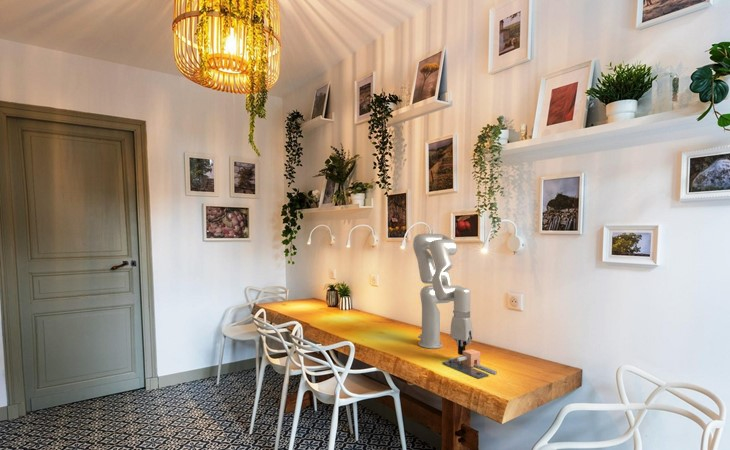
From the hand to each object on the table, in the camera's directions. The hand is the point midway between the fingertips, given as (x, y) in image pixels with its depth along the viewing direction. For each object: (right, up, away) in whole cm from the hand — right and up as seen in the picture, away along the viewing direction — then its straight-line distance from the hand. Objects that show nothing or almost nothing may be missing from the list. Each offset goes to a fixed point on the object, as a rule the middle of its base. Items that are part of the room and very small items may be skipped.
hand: (461, 354), depth 176 cm
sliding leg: (+1, -3, -7) cm, 7 cm away
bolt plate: (-2, -3, -12) cm, 12 cm away
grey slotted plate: (+2, -3, -10) cm, 10 cm away
